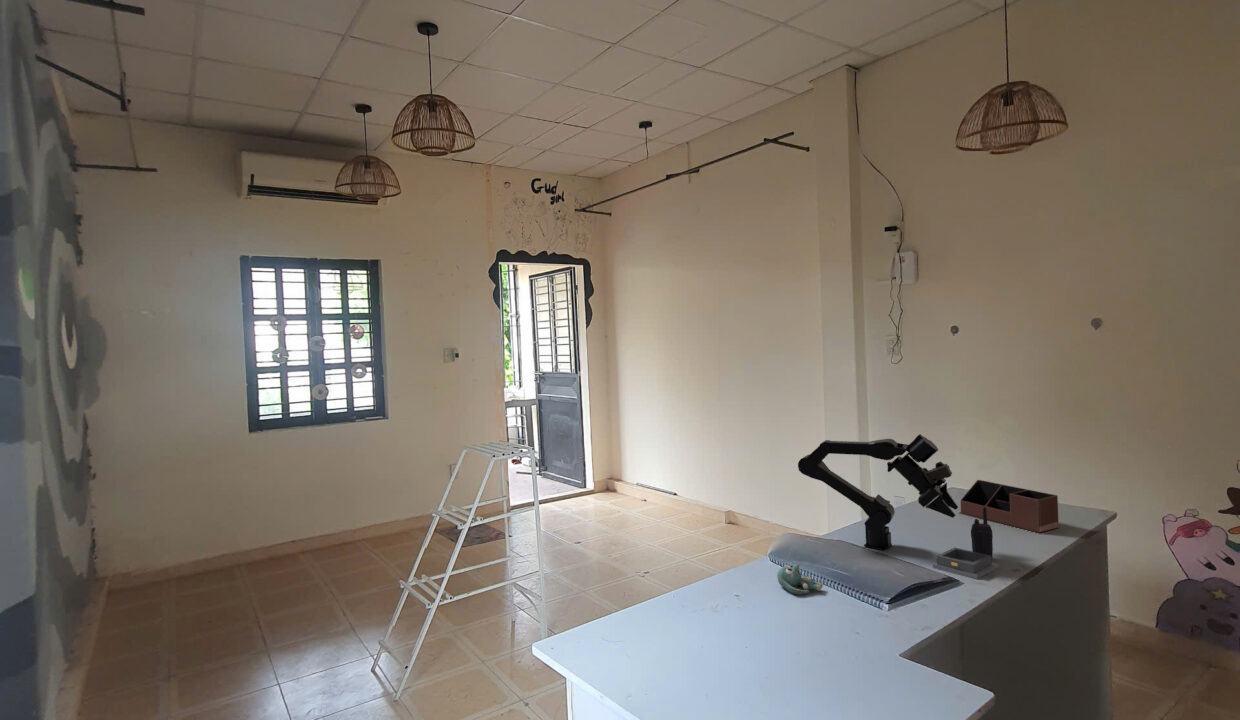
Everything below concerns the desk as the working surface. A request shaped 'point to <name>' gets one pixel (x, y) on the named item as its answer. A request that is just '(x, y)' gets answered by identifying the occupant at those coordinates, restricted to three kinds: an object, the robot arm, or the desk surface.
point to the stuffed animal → (796, 580)
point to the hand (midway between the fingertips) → (955, 512)
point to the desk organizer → (1012, 506)
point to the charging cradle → (964, 563)
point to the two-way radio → (982, 536)
